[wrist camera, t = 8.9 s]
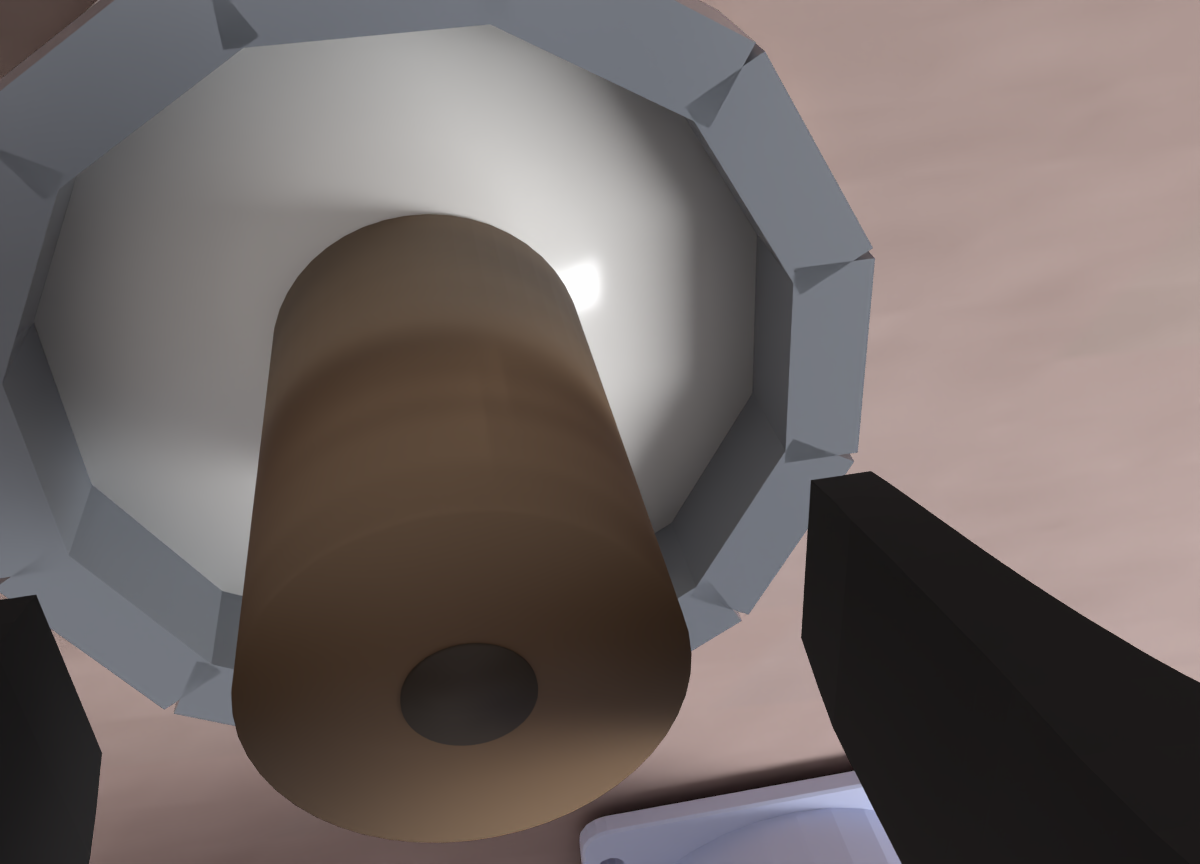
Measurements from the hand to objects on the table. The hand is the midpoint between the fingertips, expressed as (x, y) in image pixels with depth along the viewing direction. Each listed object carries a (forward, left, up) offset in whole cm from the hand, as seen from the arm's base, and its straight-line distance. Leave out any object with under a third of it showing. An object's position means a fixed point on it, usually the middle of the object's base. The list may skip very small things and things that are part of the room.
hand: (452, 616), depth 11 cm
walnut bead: (0, 0, -5) cm, 5 cm away
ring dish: (0, 0, -6) cm, 6 cm away
